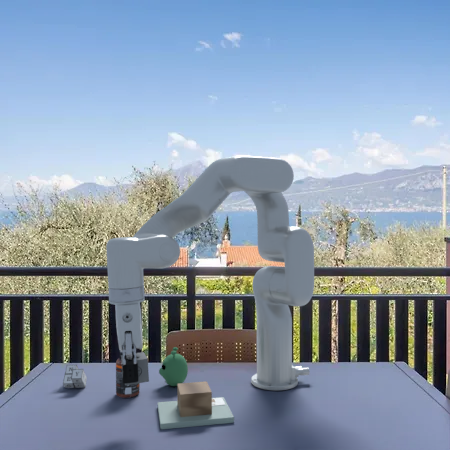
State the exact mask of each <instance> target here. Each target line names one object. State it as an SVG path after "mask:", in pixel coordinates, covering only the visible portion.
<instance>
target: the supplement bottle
mask: <svg viewBox="0 0 450 450" xmlns="http://www.w3.org/2000/svg"><path fill="white" fill-rule="evenodd" d="M122 351H123V349H122ZM122 351H120V350H119V357H118V358H117V360H116V362H115V395H116V396H117V397H119V398H124V399H130V398H134V397H136V395H137V396H138V395H139V394H140V388H141V387H140V384H141V383H138V384H132V385H126V386H125V384H124V383H123V376H122V360H121V355H123V352H122Z"/></svg>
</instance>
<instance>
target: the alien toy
mask: <svg viewBox="0 0 450 450" xmlns="http://www.w3.org/2000/svg"><path fill="white" fill-rule="evenodd" d="M178 350H179V348H178V347H176V346H175V347H173V348H172V350H171V352H170V354H168V355H167V356H166V357H165V358H164V359H163V361H162V365H161V367H160V368H159V369H158V374H159V375H160V376H161V377H162V378H163V379H164V380H165V381H164V382H165V383H166V384H167V385H168V386H171V387H177V384H179V383H185V380H186V379H187V377H188V372H189V368H188V362H187V360H186V358H185V357H184V356H183V355H182V354H180V353H177V351H178Z"/></svg>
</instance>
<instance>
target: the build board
mask: <svg viewBox="0 0 450 450" xmlns="http://www.w3.org/2000/svg"><path fill="white" fill-rule="evenodd" d="M157 411H158V421H159V426H160V427H159V428H160V430H168V429H170V430H171V429H180V428H190V427H199V426H200V427H201V426H203V427H204V426H210V425H223V424H231V423H233V424H234V423H235V416H234V414H233V412H232V410H231V408H230V406H229V405H228V403H227V400H226V399H225V397H224V396H217V397H212V414H210V415H199V416H188V417H180V413H179V409H178V402H177V400H173V401H172V400H171V401H169V400H168V401H161V402H160V401H157Z"/></svg>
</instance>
